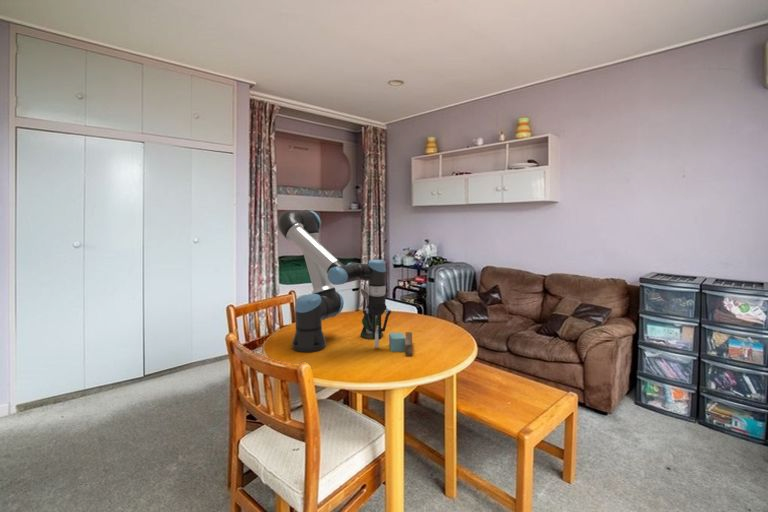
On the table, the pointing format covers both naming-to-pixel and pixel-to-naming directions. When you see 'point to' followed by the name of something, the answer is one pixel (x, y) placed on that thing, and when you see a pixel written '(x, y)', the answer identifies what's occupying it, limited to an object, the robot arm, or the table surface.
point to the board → (408, 344)
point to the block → (397, 342)
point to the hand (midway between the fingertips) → (376, 346)
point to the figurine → (365, 331)
